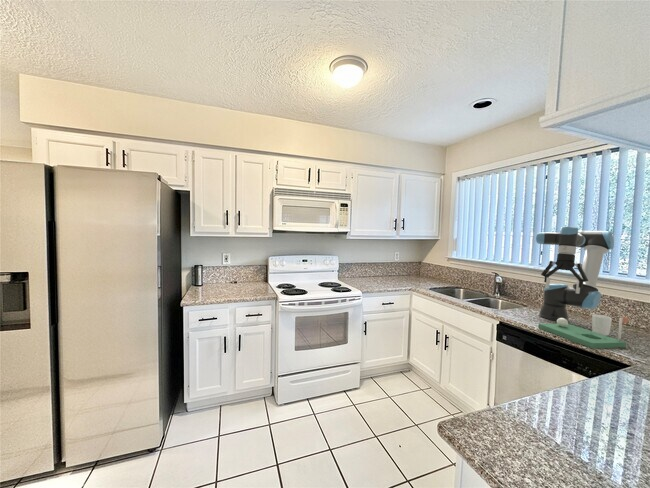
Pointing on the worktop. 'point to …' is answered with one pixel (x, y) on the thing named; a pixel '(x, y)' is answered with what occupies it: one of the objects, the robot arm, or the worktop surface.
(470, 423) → the worktop surface
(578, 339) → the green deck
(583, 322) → the worktop surface
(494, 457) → the worktop surface
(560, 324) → the ball
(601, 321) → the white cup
